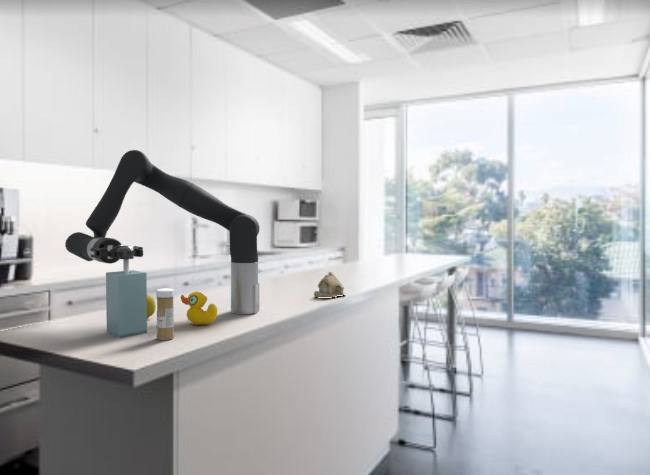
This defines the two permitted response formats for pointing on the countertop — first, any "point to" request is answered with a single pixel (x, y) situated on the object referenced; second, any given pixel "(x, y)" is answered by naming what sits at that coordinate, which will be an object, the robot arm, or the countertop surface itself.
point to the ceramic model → (329, 287)
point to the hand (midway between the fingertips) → (129, 253)
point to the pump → (126, 257)
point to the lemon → (150, 306)
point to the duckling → (199, 309)
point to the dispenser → (126, 303)
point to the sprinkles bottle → (165, 314)
